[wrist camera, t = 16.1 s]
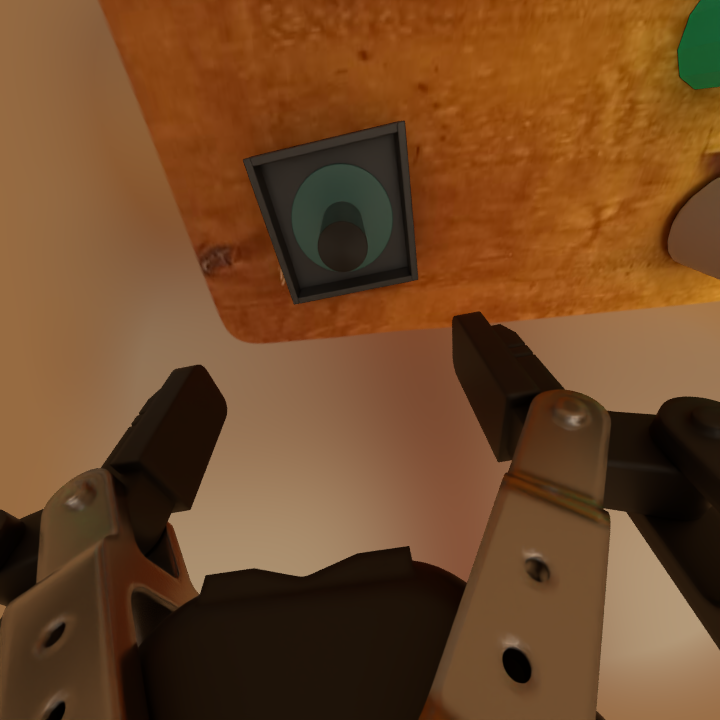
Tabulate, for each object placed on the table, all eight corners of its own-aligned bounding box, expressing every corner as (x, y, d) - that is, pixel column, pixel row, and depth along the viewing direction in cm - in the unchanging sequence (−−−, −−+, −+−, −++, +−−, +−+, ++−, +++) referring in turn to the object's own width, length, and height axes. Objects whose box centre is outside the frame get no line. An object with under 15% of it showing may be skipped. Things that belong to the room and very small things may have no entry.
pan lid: (309, 275, 27) (300, 315, 21) (278, 175, 22) (257, 192, 17) (396, 257, 26) (412, 293, 21) (383, 150, 22) (398, 159, 16)
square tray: (297, 292, 28) (294, 304, 26) (251, 156, 22) (242, 159, 20) (412, 268, 27) (418, 279, 25) (399, 121, 21) (404, 120, 19)
